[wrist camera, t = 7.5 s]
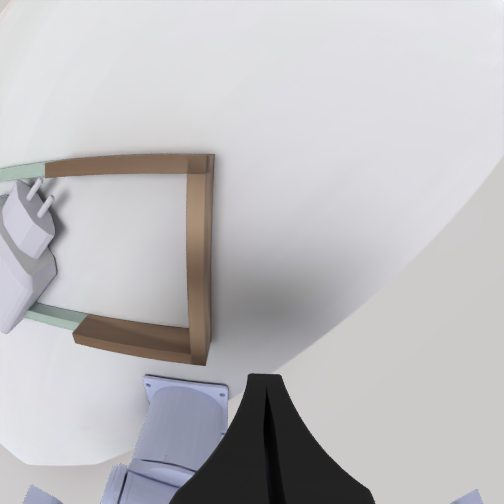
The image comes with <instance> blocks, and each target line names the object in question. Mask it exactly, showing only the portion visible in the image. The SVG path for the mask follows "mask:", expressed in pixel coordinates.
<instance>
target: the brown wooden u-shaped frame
mask: <svg viewBox="0 0 504 504" xmlns="http://www.w3.org/2000/svg"><path fill="white" fill-rule="evenodd" d="M214 155H215V154H134V155H113V156H98V157H85V158H74V159H66V160H60V161H54V162H48V163H45V178H52V177H65V176H81V175H101V174H141V173H168V174H187V202H186V255H187V292H188V314H189V329H187V328H178V327H169V326H161V325H154V324H146V323H139V322H132V321H126V320H120V319H114V318H108V317H102V316H96V315H91V314H88V315H87V316H86V317H85V318H84V320H83V321H82V322H81V323H80V324H79V326H78V327H77V328H76V329H75V330H74V332H73V333H72V334H73V338H74V341H75V343H77V344H81V345H85V346H89V347H93V348H98V349H102V350H107V351H112V352H117V353H122V354H127V355H132V356H138V357H143V358H149V359H156V360H162V361H169V362H176V363H184V364H192V365H201V366H206V361H207V357H208V352H209V347H210V342H211V228H212V198H213V175H214Z"/></svg>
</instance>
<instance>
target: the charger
mask: <svg viewBox="0 0 504 504" xmlns="http://www.w3.org/2000/svg"><path fill="white" fill-rule="evenodd" d="M42 183H43V179H42V178H41V177H39V178H38V179H37V181H36V182H35V184H34V185H33V187H32V188H31V187H29V186H28V185H27V184H26V183H25V182H22V181H20V180H17V182H16V184H15V186H14V187H13V189H12V191H11V193H10V195H1V196H0V331H1V332H3V333H5V334H8V333H9V332H10V331H11V330H12V329H13V328H14V327H15V326H16V325H17V324H18V323H19V322H21V321H22V320H23V319H24V318H25V317H23V316H24V314H25V313H26V311H27V310H28V309H29V308H30V307H31V306H33V305H34V303H35V302H36V300H37V299H38V298H39V296H40V295H41V294H42V292H43V291H44V289H45V288H46V287H47V285H48V284H49V283H50V282H51V280H52V279H53V278H54V276H55V275H56V273H57V271H56V266H55V261H54V257H53V255H52V253H51V251H50V250H49V248H48V247H47V245H48V244H49V242H50V241H51V240H52V238H53V237H54V234H55V227H54V224H53V220H52V216H51V214H50V212H49V211H48V208H49V207H50V205H51V204H52V202H53V201H54V196H53V195H49V197H48V198H47V200H46V201H45V203H43V202H42V200H41V198H40V197H39V195H38V194H37V193H36V192H37V190H38V189H39V187H40V186H41V184H42Z"/></svg>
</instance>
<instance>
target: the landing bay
mask: <svg viewBox="0 0 504 504" xmlns="http://www.w3.org/2000/svg"><path fill="white" fill-rule="evenodd" d="M65 160H66V159H65ZM56 161H60V160H56ZM48 162H54V161H48ZM48 162H40V163H33V164H27V165H20V166H14V167H9V168H3V169H0V181H7V180H14V179H22V178H31V177H41V176H45V163H48ZM87 315H88V314H86V313H81V312H76V311H71V310H66V309H61V308H57V307H52V306H48V305H43V304H39V303H34V305H33V306H31V307H30V308H29V309H28V310H27V311H26V313H25V314H24V316H23V317H25V318H28V319H32V320H35V321H38V322H42V323H46V324H49V325H53V326H57V327H61V328H65V329H69V330H73V331H74V330H75V329H76V328H77V327H78V326H79V324H80V323H81V322H82V321H83V320H84V318H85V317H86V316H87Z"/></svg>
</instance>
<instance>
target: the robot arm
mask: <svg viewBox="0 0 504 504" xmlns="http://www.w3.org/2000/svg"><path fill="white" fill-rule="evenodd" d="M143 383H144V387H145V390H146V394H147V398H148V401H149V405H150V406H149V409H148V412H147V415H146V418H145V421H144V424H143V426H142V429H141V432H140V435H139V439H138V442H137V445H136V448H135V451H134V454H133V457H132V460H131V462H130V464H129V466H128V468H127V466H126V465H124V464H119V466H114V467H112V470H111V473H110V476H109V478H108V481H107V484H106V487H105V490H104V494H103V497H102V500H101V503H100V504H375V501H374V499H373V496H372V494H371V492H370V490H369V489H368V488H366V487H365V486H363V485H362V484H360V483H359V482H358V481H356V480H355V479H354V478H353V477H351V476H350V475H349V474H348V473H347V472H345V471H344V470H343V469H342V468H341V467H340V466H339V465H338V464H337V463H336V462H335V461H334V460H333V459H332V458H331V457H330V456H329V455H328V454H327V453H326V452H325V451H324V449H323V448H322V447H321V446H320V445H319V444H318V442H317V441H316V440H315V438H314V437H313V436H312V434H311V433H310V431H309V430H308V428H307V427H306V425H305V424H304V422H303V421H302V419H301V417H300V416H299V414H298V412H297V410H296V408H295V407H294V405H293V403H292V401H291V399H290V396H289V394H288V392H287V390H286V388H285V385H284V382H283V379H282V376H281V375H279V374H254V373H250V374H249V375H248V379H247V385H246V389H245V392H244V395H243V398H242V401H241V403H240V406H239V408H238V410H237V413H236V415H235V417H234V419H233V421H232V423H231V425H230V426H229V428H228V430H227V421H228V420H227V419H228V388H227V387H226V386H223V385H213V384H203V383H194V382H186V381H179V380H172V379H165V378H159V377H153V376H144V378H143ZM221 393H223V394H221ZM220 440H221V441H220ZM23 504H63V503H62V502H61V501H60V500H58V499H57V498H55V497H53V496H51V495H50V494H48V493H46V492H44V491H42V490H41V489H39V488H37V487H35V486H34V485H31V486H30V488H29V490H28V492H27V495H26V497H25V499H24V502H23ZM451 504H483V502H482V500H481V497H480V495H479V492H478V490H477V489H476V490H474V491H472V492H470V493H468V494H466V495H464V496H462V497H461V498H459V499H457V500H456V501H454V502H452V503H451Z"/></svg>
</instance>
